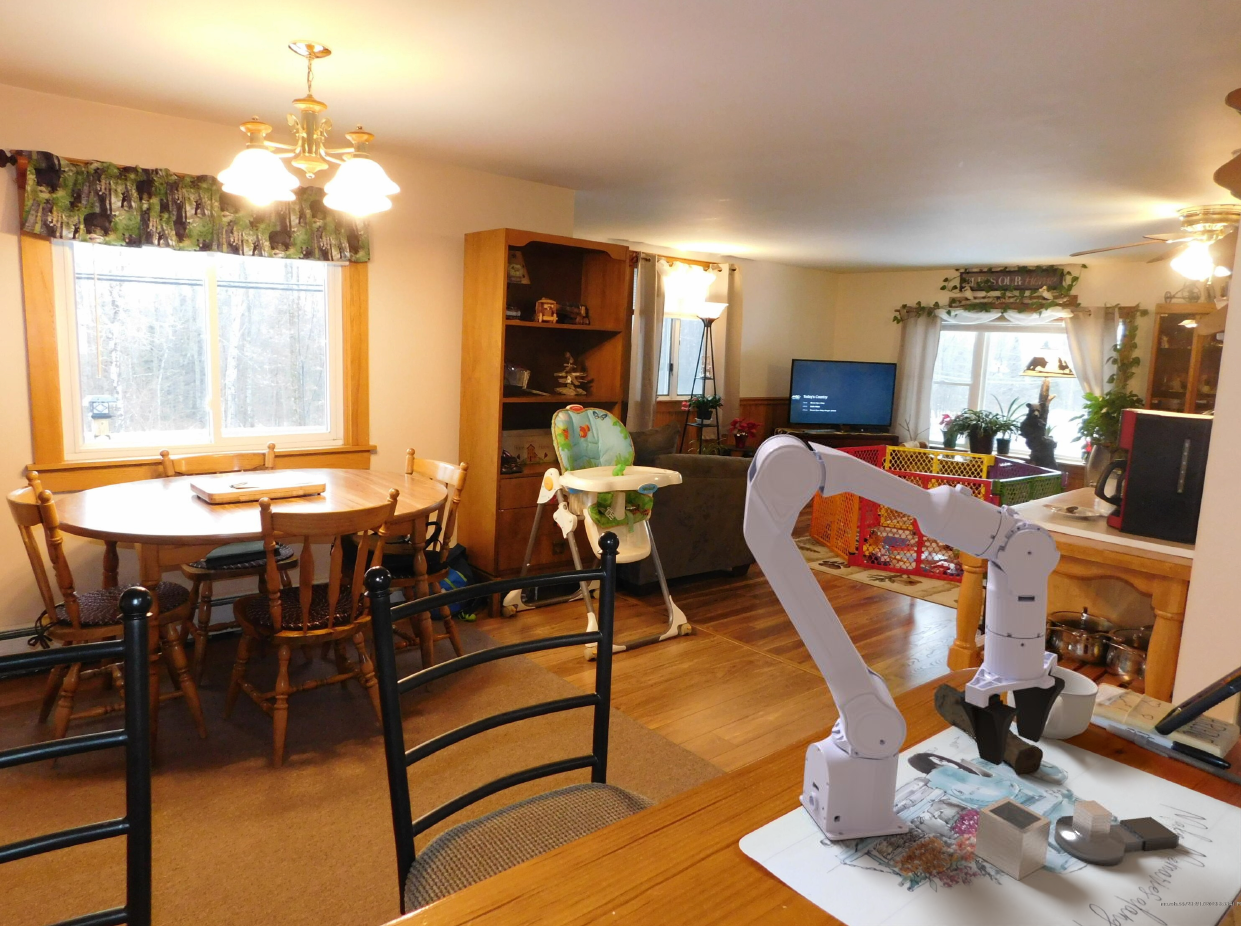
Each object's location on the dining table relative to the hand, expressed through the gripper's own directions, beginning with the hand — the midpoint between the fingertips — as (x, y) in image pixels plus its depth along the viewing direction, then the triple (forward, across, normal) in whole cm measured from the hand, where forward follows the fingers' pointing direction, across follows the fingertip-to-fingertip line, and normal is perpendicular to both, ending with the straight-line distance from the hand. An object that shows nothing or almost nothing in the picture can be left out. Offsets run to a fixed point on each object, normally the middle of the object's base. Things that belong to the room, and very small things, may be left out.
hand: (1010, 749), depth 86 cm
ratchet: (+10, +8, -8) cm, 15 cm away
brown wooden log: (+10, +16, +14) cm, 24 cm away
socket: (+10, -4, -3) cm, 11 cm away
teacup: (+11, +27, +10) cm, 30 cm away
